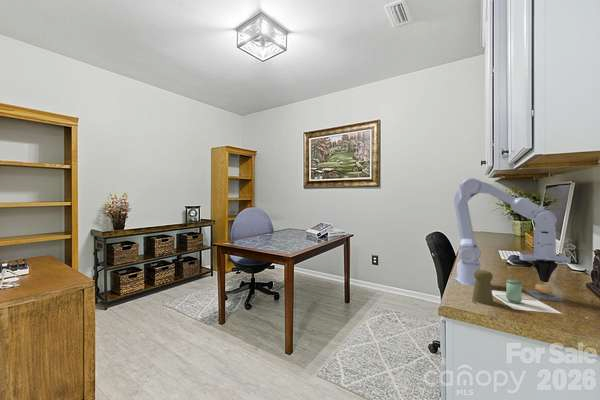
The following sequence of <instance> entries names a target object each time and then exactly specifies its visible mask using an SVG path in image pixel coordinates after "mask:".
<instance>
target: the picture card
mask: <svg viewBox="0 0 600 400" xmlns="http://www.w3.org/2000/svg"><path fill="white" fill-rule="evenodd" d="M492 296H493V297H495V298H496V299H498V300H499V301H500V302H502V303H504V304H505V305H507V306H509V308H511V309H513V310H519V311H528V312H537V313H538V312H539V313H551V314H560V315H561V314H562V315H563V313H562V312H560V311H559V310H557V309H555V308H553V307H552V306H549V305H547V304H546V303H544V302H541V300H539V299H537V298H535V297H533V296H531V295H529V294H527V293H526V292H522V301H520V303H519V304H515V303H511V302H509V301H508V299H507V298H506V291H505V290H494V289H493V290H492Z"/></svg>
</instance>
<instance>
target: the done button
mask: <svg viewBox="0 0 600 400" xmlns="http://www.w3.org/2000/svg"><path fill="white" fill-rule="evenodd" d="M534 285H535V286H534V287H535V290H534V291H539V292H543V293H552V294H553V287H552V286H551V285H547V284H541V283H536V284H534Z"/></svg>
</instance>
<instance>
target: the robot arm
mask: <svg viewBox="0 0 600 400" xmlns="http://www.w3.org/2000/svg"><path fill="white" fill-rule="evenodd" d="M479 193H480V194H488V195H491V196H492V197H495V198H497V199H499V200H500V201H502V202H504V203H506V204H508V205H510V209H511V211H513V212H515V213H517V214H519V215H521V216H522V217H524V218H526V219H528V220H533V222H534V223H535V224H534V230H533V253H529V254H528V253H527V254H526V253H525V254H524V253H522V254H521V253H519V257H518V258H519V260H520V261H525V262H526V261H531V263H532V265H533V267H534V268H535V270H536V272H537V276H538V278H539V281H540V282H542V283H549V281H550V278H551V276H552V274H553V273H554V271H555V270H556V269H557V268H558V263H567V264H571V263H572V262H571V261H572V260H571V259H572V258H571V257H570V256H563V255H556V253H557V252H556V251H557V249H556V248H557V245H556V244H557V232H556V223H557V221H558V218H557V216H556V214H555V213H553V212H552V211H551V210H549V209H545V208H546V207H545V206H543V205H542V206H541V205H538V204H536V203H534V202H533V201H531V199H530V198H528V197H526V198H525V197H522V196H521V197H514V196H513V195H511V194H509V193H507V192H506V191H504V190H502V189H500V188H499V187H497V186H495V185H494V184H490V183H488V182H485V181H482V180H479V179H476V178H474V177H467V178H465V179H464V180H463V181H462V182H461V183H460V184H459V185H458V187H457V191H456V193H455V194H454V195H453V204H454V210H455V216H456V221H457V226H458V232H459V238H460V242H459V243H460V244H459V248H460V250H459V253H458V256H459V261H458V262H457V264H456V277H454V278H453V279H454V280H456V281H457V282H458V283H459V284H462V285H467V286H475V280H476V279H475V277H474V272H475V271H476V270H481V261H480V260H479V258H480V257H481V256H482V255H481V254H482V251H481V249H480V248H479V247H478V245H477V241H476V239H475V236H474V235H475V234H474V228H473V225H472V219H471V215H470V214H471V213H470V210H469V209H470V208H469V204H468V203H469V201H470V200H471V199H472V198H473V197H474V196H476V195H478V194H479Z"/></svg>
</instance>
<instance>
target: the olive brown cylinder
mask: <svg viewBox="0 0 600 400" xmlns="http://www.w3.org/2000/svg"><path fill="white" fill-rule="evenodd" d="M474 277H475V279H476V280H475V285H473V286H474V287H473V292H472V298H471V299H472V300H471V302H472V303H473V304H475V305H478V304H482V305H491V306H492V305H494V296H493V295H492V283H491V282H492V280H493V274H492V272H491V271H489V270H485V269H480V270H476V271H475V272H474Z"/></svg>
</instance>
